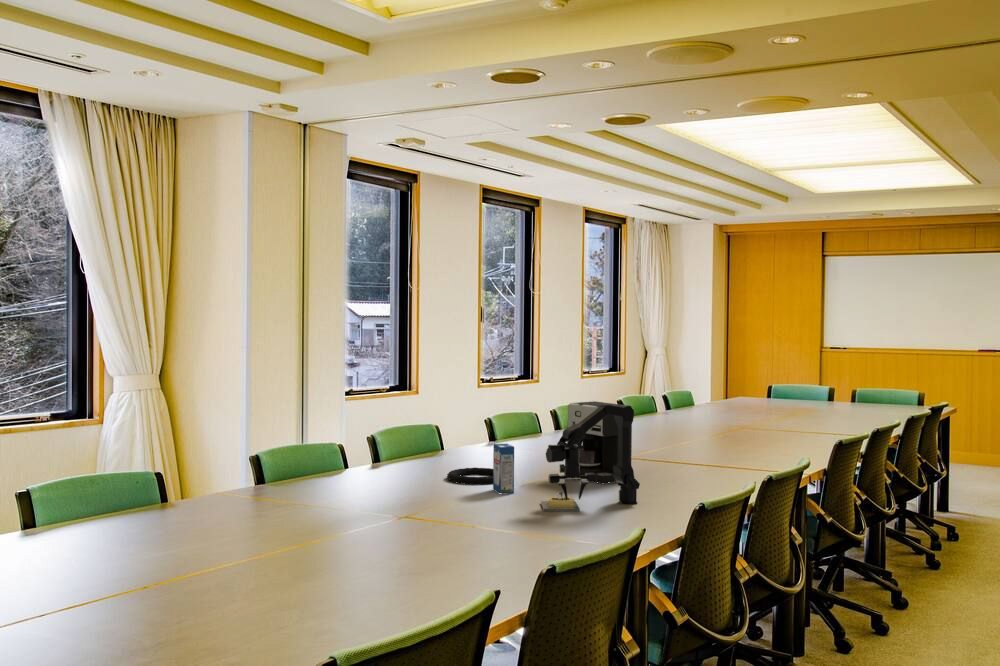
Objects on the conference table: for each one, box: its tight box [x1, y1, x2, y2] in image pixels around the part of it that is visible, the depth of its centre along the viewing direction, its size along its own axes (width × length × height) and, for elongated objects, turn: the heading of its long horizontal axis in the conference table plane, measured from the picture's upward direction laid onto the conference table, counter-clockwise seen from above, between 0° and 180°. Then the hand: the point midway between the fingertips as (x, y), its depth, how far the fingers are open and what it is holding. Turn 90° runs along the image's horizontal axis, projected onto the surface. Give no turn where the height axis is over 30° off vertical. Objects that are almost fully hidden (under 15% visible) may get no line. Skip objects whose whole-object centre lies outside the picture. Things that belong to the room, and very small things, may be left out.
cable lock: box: [446, 467, 493, 485], centre depth 399 cm, size 28×4×30 cm
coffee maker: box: [567, 400, 633, 484], centre depth 406 cm, size 28×20×35 cm
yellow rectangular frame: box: [546, 496, 575, 507], centre depth 341 cm, size 10×6×2 cm, turn 92°
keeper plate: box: [540, 491, 581, 512], centre depth 341 cm, size 14×14×6 cm
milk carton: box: [492, 443, 515, 494], centre depth 371 cm, size 10×6×20 cm, turn 18°
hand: (572, 499), depth 341 cm, fingers open, 5 cm apart
